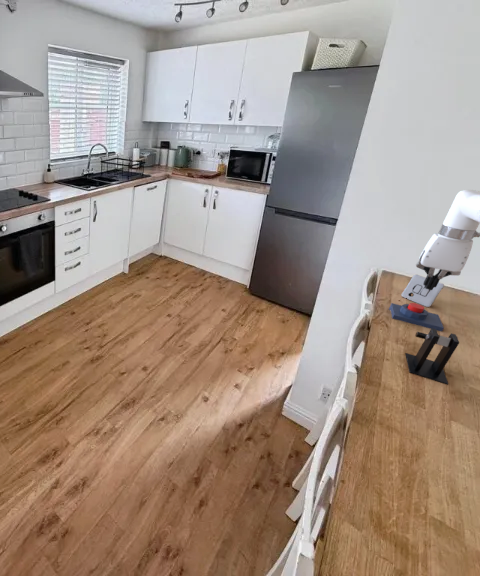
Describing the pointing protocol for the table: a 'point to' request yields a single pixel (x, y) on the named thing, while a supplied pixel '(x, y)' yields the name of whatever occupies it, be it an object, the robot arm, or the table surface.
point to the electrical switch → (421, 291)
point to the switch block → (416, 317)
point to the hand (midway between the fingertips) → (428, 287)
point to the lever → (441, 340)
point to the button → (415, 307)
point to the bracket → (427, 367)
